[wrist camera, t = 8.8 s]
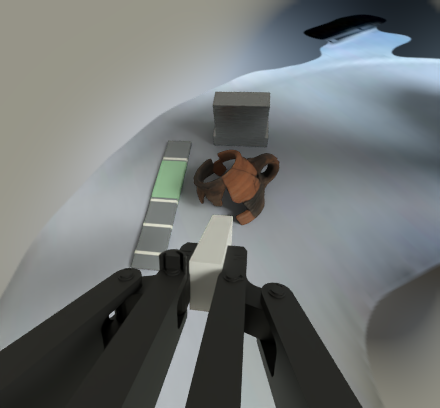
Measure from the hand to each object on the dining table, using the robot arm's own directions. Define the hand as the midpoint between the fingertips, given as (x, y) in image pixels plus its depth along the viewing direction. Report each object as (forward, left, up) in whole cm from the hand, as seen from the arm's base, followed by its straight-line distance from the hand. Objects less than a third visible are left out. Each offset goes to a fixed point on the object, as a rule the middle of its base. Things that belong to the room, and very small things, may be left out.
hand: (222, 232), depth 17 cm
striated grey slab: (+14, -17, -13) cm, 26 cm away
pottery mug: (+7, -9, -14) cm, 18 cm away
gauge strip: (+14, -1, -13) cm, 20 cm away
